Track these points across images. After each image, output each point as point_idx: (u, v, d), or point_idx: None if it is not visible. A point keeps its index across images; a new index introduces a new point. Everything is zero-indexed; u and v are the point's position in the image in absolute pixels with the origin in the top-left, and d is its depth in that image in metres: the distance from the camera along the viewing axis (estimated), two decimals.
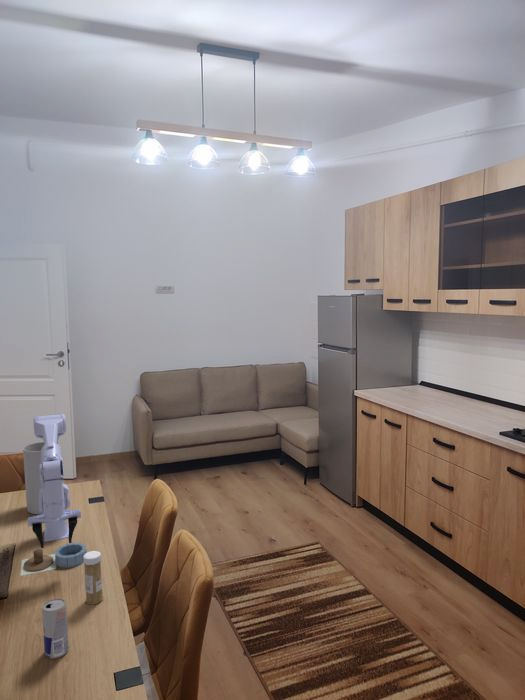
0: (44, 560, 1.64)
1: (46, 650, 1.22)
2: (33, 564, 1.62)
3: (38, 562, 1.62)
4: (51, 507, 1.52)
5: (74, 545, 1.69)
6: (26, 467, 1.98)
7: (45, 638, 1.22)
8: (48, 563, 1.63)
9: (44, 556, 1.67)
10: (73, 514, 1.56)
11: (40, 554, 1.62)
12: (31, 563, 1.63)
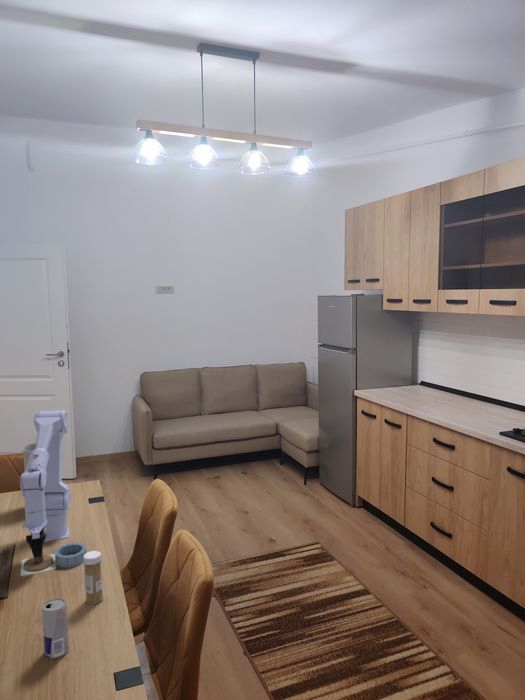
0: (44, 560, 1.64)
1: (46, 650, 1.22)
2: (33, 564, 1.62)
3: (38, 562, 1.62)
4: None
5: (74, 545, 1.69)
6: (26, 467, 1.98)
7: (45, 638, 1.22)
8: (48, 563, 1.63)
9: (44, 556, 1.67)
10: (31, 531, 1.57)
11: None
12: (31, 563, 1.63)
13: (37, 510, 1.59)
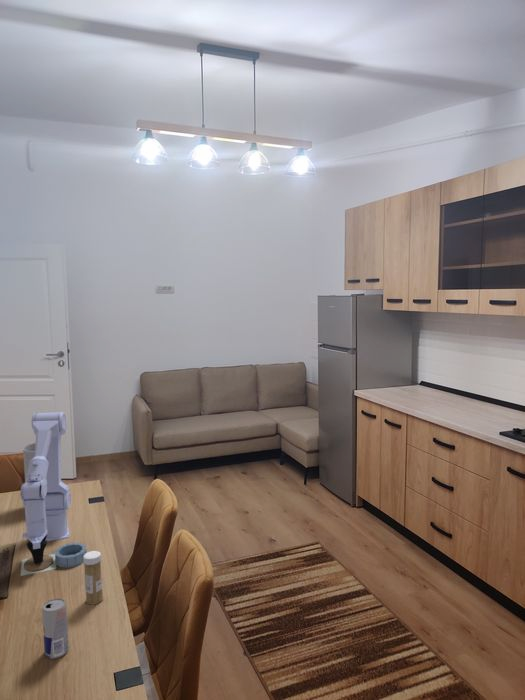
0: (44, 560, 1.64)
1: (46, 650, 1.22)
2: (33, 564, 1.62)
3: None
4: None
5: (74, 545, 1.69)
6: (26, 467, 1.98)
7: (45, 638, 1.22)
8: (48, 563, 1.63)
9: (44, 556, 1.67)
10: (31, 541, 1.57)
11: None
12: (31, 563, 1.63)
13: (38, 520, 1.59)
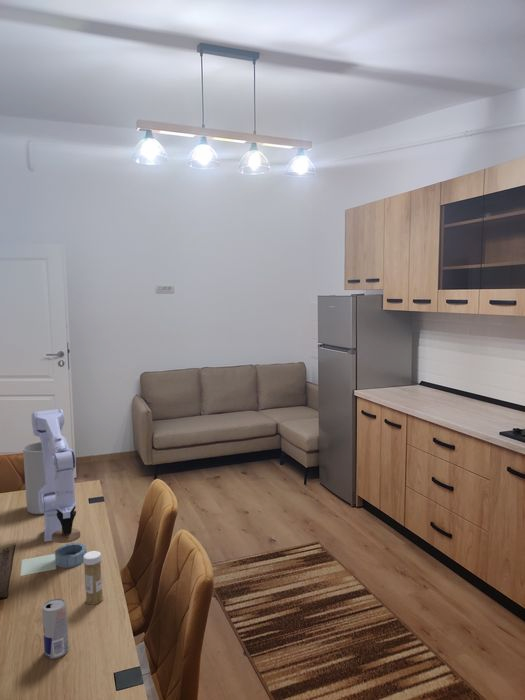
0: (71, 533, 1.66)
1: (46, 650, 1.22)
2: (61, 536, 1.63)
3: (66, 534, 1.64)
4: None
5: (74, 545, 1.69)
6: (26, 467, 1.98)
7: (45, 638, 1.22)
8: (76, 536, 1.64)
9: None
10: (61, 511, 1.58)
11: None
12: (59, 535, 1.64)
13: (71, 489, 1.62)
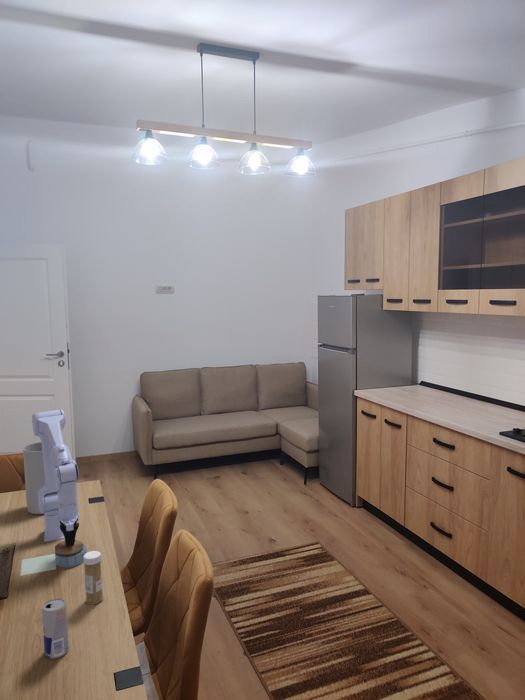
0: (74, 545, 1.66)
1: (46, 650, 1.22)
2: (64, 548, 1.64)
3: (69, 546, 1.64)
4: None
5: None
6: (26, 467, 1.98)
7: (45, 638, 1.22)
8: (79, 547, 1.65)
9: None
10: (64, 523, 1.59)
11: None
12: (62, 547, 1.65)
13: (74, 501, 1.63)
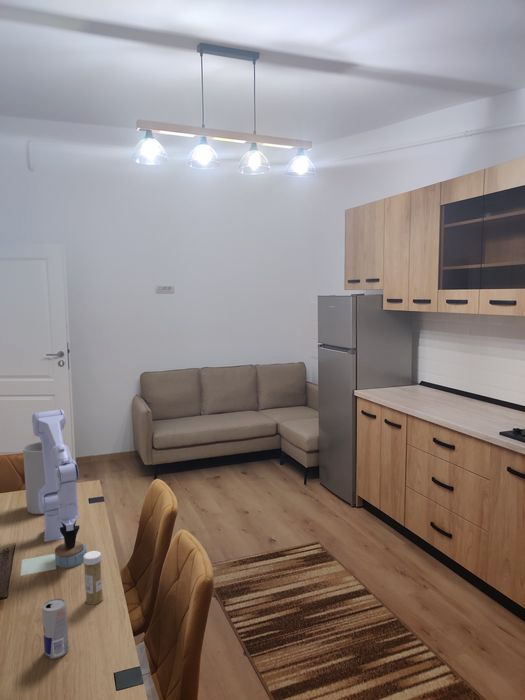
0: None
1: (46, 650, 1.22)
2: (64, 550, 1.64)
3: None
4: None
5: None
6: (26, 467, 1.98)
7: (45, 638, 1.22)
8: (79, 549, 1.65)
9: None
10: (64, 523, 1.59)
11: None
12: (62, 549, 1.65)
13: (74, 501, 1.63)
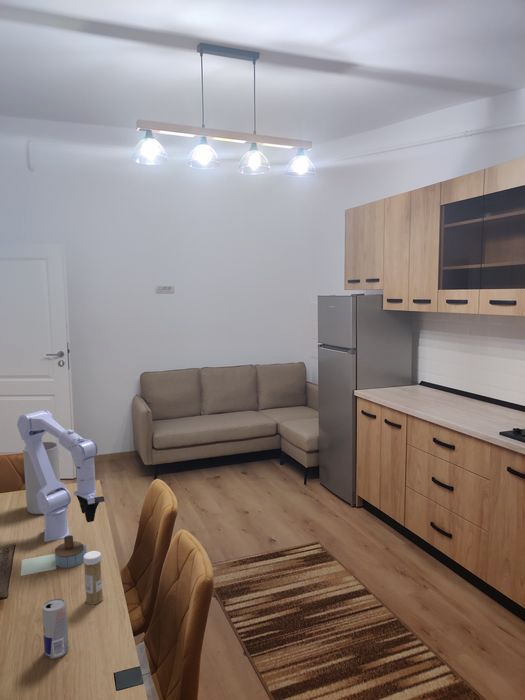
0: (74, 546, 1.66)
1: (46, 650, 1.22)
2: (64, 550, 1.64)
3: (69, 548, 1.64)
4: None
5: None
6: (26, 467, 1.98)
7: (45, 638, 1.22)
8: (79, 549, 1.65)
9: (74, 542, 1.69)
10: (85, 497, 1.67)
11: (71, 540, 1.65)
12: (62, 549, 1.65)
13: (94, 476, 1.72)
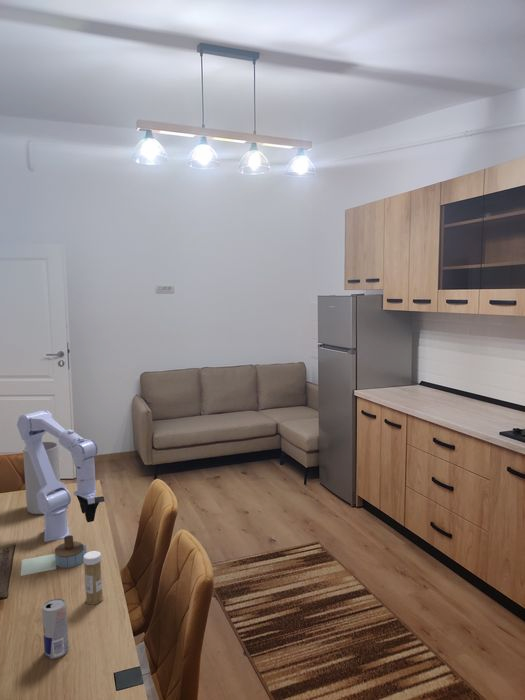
0: (74, 546, 1.66)
1: (46, 650, 1.22)
2: (64, 550, 1.64)
3: (69, 548, 1.64)
4: None
5: None
6: (26, 467, 1.98)
7: (45, 638, 1.22)
8: (79, 549, 1.65)
9: (74, 542, 1.69)
10: (85, 497, 1.67)
11: (71, 540, 1.65)
12: (62, 549, 1.65)
13: (94, 476, 1.72)
